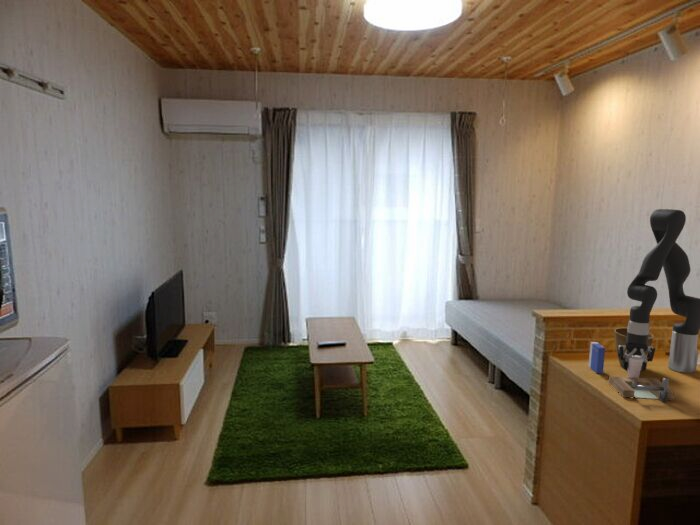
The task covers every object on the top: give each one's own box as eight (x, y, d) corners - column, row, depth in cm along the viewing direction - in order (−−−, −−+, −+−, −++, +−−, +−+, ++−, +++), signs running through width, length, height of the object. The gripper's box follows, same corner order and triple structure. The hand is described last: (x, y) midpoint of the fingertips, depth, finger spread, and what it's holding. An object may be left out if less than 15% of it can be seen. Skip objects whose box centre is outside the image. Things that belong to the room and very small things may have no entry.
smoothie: (625, 374, 197) (628, 343, 195) (642, 378, 193) (646, 346, 191) (622, 379, 192) (626, 347, 190) (640, 383, 188) (644, 351, 186)
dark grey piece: (664, 400, 173) (667, 377, 172) (667, 402, 171) (670, 380, 170) (629, 398, 175) (631, 376, 173) (631, 400, 173) (634, 378, 172)
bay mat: (647, 389, 182) (647, 388, 182) (658, 399, 174) (658, 398, 174) (624, 388, 184) (624, 387, 183) (634, 397, 175) (634, 397, 175)
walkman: (602, 373, 198) (605, 347, 196) (596, 373, 198) (598, 347, 196) (594, 366, 206) (596, 341, 204) (588, 366, 206) (590, 341, 204)
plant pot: (615, 370, 201) (618, 336, 198) (608, 359, 215) (611, 326, 212) (654, 375, 196) (658, 339, 194) (644, 362, 210) (647, 329, 208)
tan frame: (655, 385, 186) (656, 378, 185) (673, 400, 173) (674, 392, 173) (608, 383, 188) (609, 376, 188) (622, 397, 176) (623, 390, 175)
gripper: (651, 329, 192) (647, 367, 194) (615, 328, 194) (611, 365, 196) (661, 335, 184) (656, 374, 187) (623, 333, 186) (619, 372, 189)
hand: (633, 369), depth 192 cm, fingers closed on smoothie, 6 cm apart
